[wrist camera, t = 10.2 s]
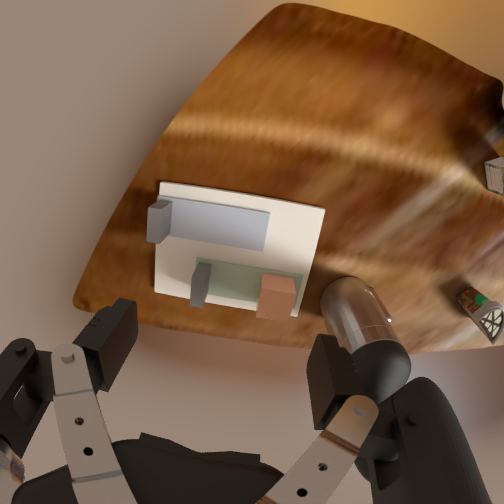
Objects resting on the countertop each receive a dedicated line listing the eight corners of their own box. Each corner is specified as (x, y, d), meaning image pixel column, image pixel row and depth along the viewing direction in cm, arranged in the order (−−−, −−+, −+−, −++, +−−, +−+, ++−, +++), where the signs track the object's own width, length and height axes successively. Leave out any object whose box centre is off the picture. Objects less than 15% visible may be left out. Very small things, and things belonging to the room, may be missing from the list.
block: (293, 278, 45) (296, 293, 41) (286, 304, 47) (288, 322, 43) (262, 272, 45) (261, 288, 41) (256, 300, 47) (255, 317, 43)
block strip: (302, 275, 46) (307, 292, 41) (294, 306, 48) (297, 325, 43) (196, 257, 45) (188, 272, 40) (193, 289, 48) (186, 307, 42)
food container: (488, 301, 48) (512, 324, 39) (472, 320, 50) (493, 345, 41) (471, 271, 46) (499, 295, 37) (452, 293, 48) (478, 319, 39)
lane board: (323, 207, 43) (325, 209, 42) (296, 312, 50) (296, 316, 49) (162, 181, 42) (160, 182, 41) (156, 288, 49) (154, 291, 48)
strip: (270, 212, 42) (270, 223, 37) (262, 250, 45) (262, 265, 39) (159, 195, 42) (145, 203, 37) (156, 232, 44) (143, 244, 39)
